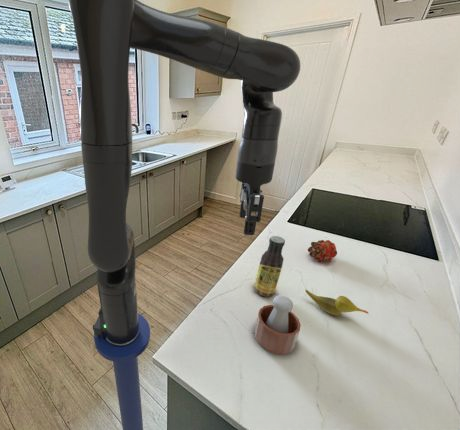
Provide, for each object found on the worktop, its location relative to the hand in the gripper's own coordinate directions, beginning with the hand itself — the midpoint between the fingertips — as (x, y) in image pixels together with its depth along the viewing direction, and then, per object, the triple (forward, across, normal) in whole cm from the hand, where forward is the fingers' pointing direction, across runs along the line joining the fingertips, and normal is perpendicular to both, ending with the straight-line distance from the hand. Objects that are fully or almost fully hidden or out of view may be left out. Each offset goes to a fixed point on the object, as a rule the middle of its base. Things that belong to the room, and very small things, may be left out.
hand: (246, 225), depth 63 cm
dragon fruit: (+30, -34, +35) cm, 57 cm away
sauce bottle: (+30, -12, +11) cm, 34 cm away
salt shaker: (+30, +6, +10) cm, 32 cm away
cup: (+30, +6, +10) cm, 32 cm away
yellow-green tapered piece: (+30, -6, +28) cm, 42 cm away
